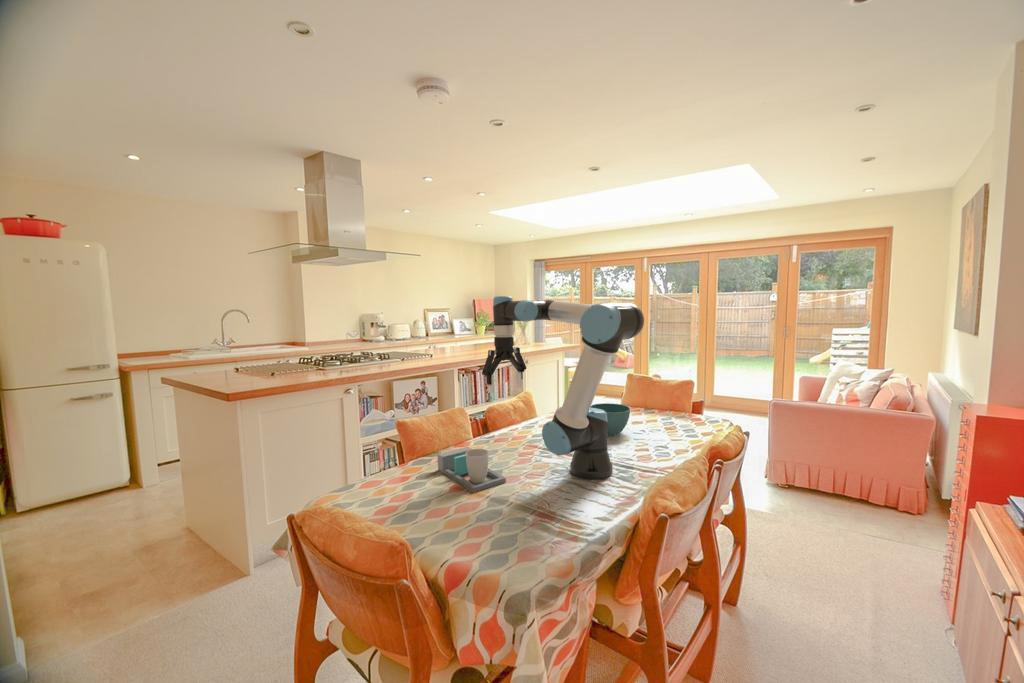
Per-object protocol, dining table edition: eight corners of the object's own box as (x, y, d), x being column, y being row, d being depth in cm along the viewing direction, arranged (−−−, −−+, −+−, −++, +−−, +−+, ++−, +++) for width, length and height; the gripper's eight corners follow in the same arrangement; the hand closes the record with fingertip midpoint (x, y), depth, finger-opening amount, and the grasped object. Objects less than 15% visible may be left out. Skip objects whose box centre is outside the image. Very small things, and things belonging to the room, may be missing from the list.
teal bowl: (599, 425, 215) (599, 401, 214) (635, 431, 205) (636, 405, 203) (583, 435, 201) (583, 409, 199) (621, 442, 190) (621, 414, 189)
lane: (505, 482, 150) (505, 465, 150) (473, 492, 143) (473, 474, 142) (468, 461, 171) (467, 446, 170) (438, 469, 163) (437, 454, 163)
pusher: (478, 470, 161) (478, 452, 161) (456, 476, 156) (455, 458, 155) (472, 466, 165) (471, 449, 164) (450, 472, 159) (449, 454, 159)
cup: (493, 477, 154) (492, 450, 153) (482, 486, 147) (481, 458, 146) (473, 474, 158) (472, 447, 157) (462, 483, 150) (461, 455, 150)
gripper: (522, 333, 179) (523, 384, 181) (471, 338, 163) (473, 393, 165) (534, 334, 173) (535, 387, 175) (483, 338, 158) (485, 396, 159)
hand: (505, 390), depth 170 cm, fingers open, 13 cm apart
